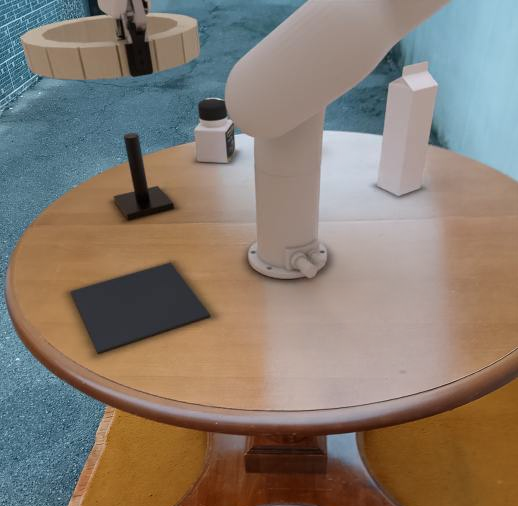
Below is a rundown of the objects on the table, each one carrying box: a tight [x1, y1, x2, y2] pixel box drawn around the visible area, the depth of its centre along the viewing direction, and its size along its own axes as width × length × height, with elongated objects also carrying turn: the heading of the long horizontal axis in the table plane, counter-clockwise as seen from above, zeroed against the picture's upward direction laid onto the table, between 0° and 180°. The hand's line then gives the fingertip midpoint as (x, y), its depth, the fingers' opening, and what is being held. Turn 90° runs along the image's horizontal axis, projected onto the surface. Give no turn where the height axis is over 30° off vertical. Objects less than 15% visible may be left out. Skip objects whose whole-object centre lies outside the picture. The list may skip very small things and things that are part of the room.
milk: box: [376, 61, 439, 197], centre depth 98 cm, size 6×6×22 cm
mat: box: [70, 262, 211, 355], centre depth 78 cm, size 16×16×1 cm
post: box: [113, 132, 175, 221], centre depth 98 cm, size 9×9×13 cm
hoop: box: [20, 12, 201, 81], centre depth 82 cm, size 26×26×4 cm
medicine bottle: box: [193, 97, 236, 164], centre depth 116 cm, size 7×7×12 cm
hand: (137, 70), depth 75 cm, fingers closed on hoop, 3 cm apart
